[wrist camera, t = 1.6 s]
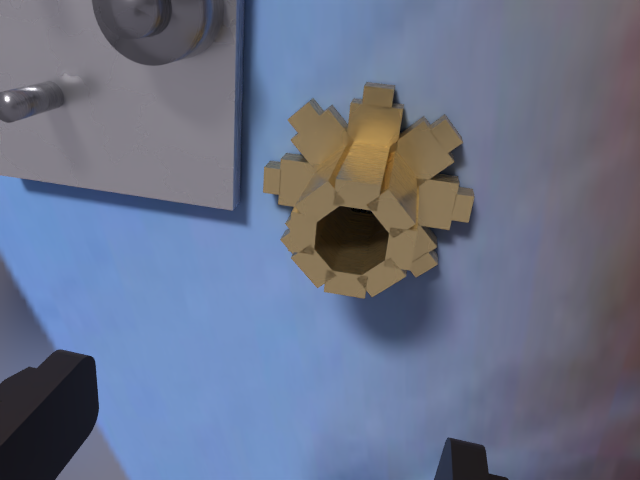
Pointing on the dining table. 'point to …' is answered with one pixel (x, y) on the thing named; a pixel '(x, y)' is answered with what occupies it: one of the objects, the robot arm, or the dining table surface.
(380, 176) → the planet gear
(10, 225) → the dining table surface
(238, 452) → the dining table surface
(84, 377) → the robot arm
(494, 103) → the dining table surface
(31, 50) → the plate
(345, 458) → the dining table surface
